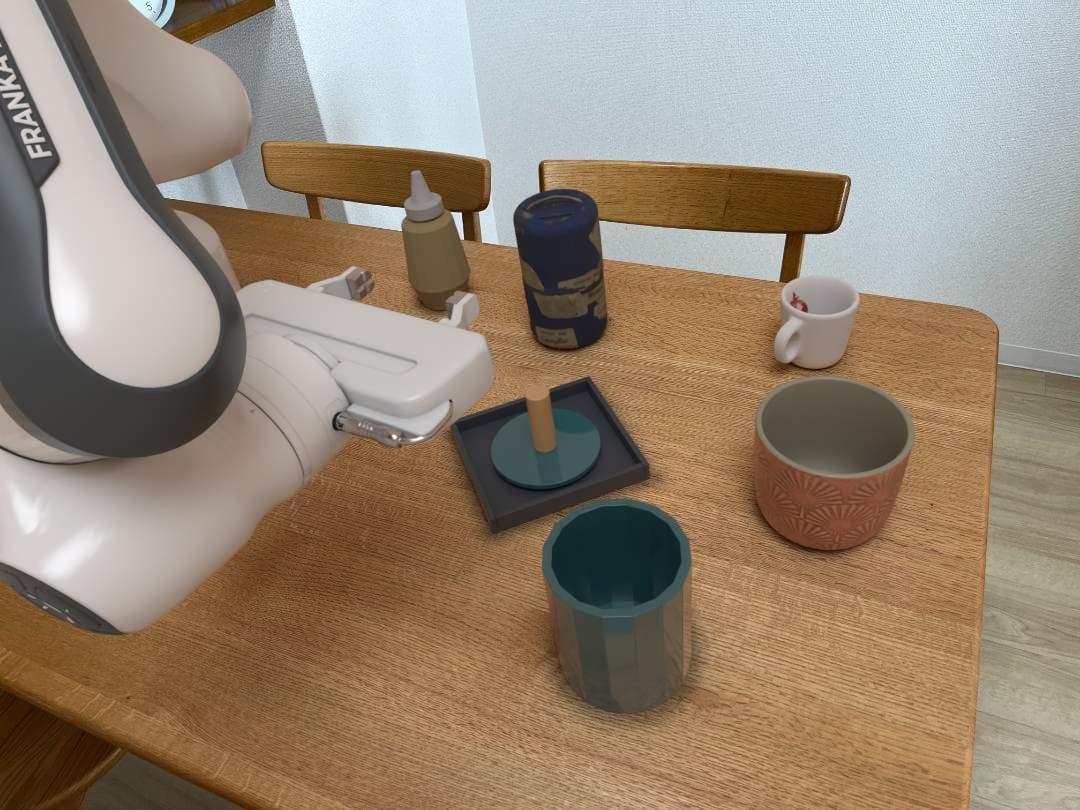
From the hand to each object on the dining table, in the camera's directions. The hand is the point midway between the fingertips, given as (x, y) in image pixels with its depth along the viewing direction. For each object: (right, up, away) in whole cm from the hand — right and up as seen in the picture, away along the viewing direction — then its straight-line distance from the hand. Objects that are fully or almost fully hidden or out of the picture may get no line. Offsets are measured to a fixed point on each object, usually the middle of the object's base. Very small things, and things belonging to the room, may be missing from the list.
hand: (416, 287), depth 57 cm
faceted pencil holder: (+16, -28, +8) cm, 33 cm away
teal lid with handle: (+9, -13, +25) cm, 29 cm away
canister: (+12, +1, +42) cm, 43 cm away
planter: (+34, -18, +16) cm, 42 cm away
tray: (+9, -14, +26) cm, 30 cm away
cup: (+38, -4, +32) cm, 50 cm away
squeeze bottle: (-4, +6, +50) cm, 51 cm away
